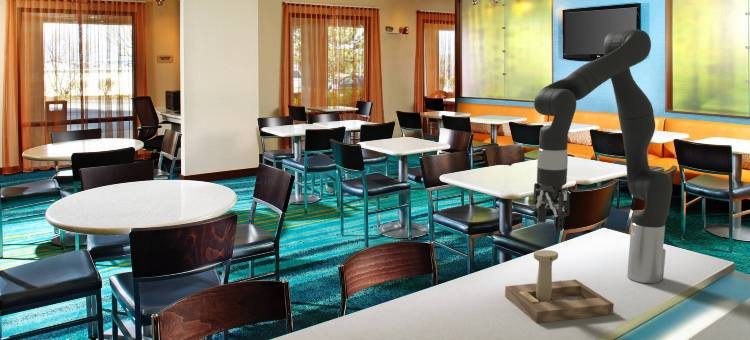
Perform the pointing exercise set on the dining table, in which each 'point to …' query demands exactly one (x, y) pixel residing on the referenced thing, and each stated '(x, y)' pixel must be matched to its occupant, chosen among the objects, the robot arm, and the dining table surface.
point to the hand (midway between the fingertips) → (549, 226)
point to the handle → (544, 274)
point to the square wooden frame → (559, 302)
